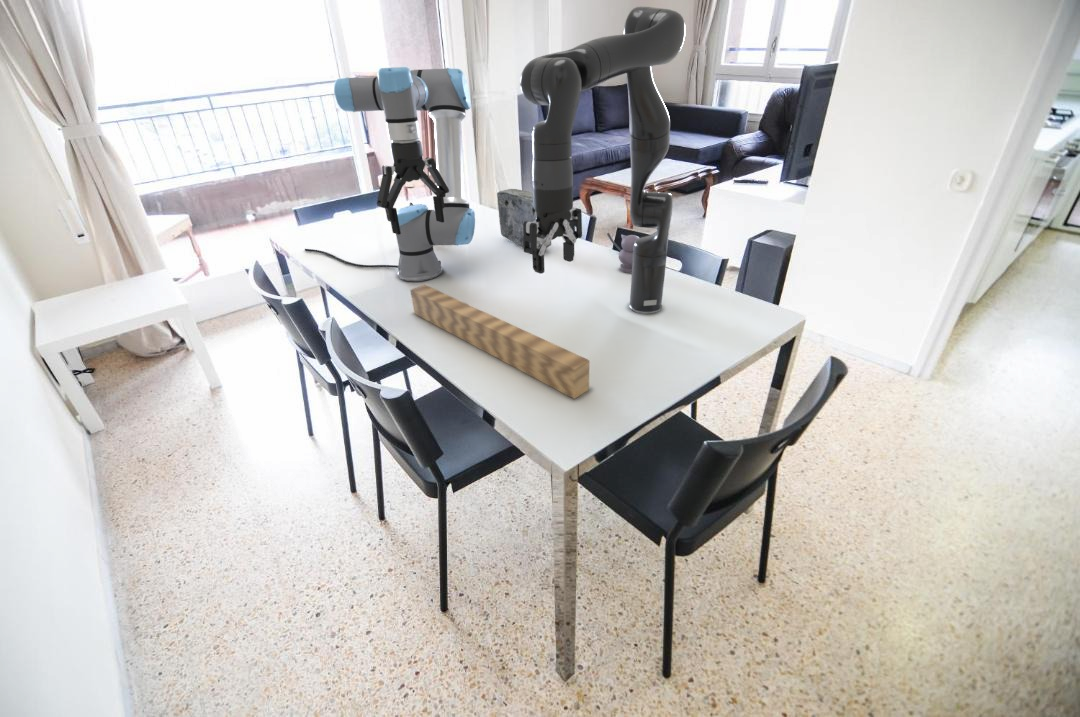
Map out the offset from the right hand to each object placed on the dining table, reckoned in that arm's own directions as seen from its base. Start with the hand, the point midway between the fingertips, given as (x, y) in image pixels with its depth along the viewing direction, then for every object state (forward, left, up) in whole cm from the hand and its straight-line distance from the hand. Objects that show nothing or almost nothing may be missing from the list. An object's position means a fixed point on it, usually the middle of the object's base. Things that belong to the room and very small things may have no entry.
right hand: (554, 266), depth 100 cm
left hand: (-25, -43, -1) cm, 50 cm away
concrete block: (-90, -33, -28) cm, 100 cm away
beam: (-12, -21, -28) cm, 38 cm away
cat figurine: (-73, +9, -28) cm, 79 cm away
